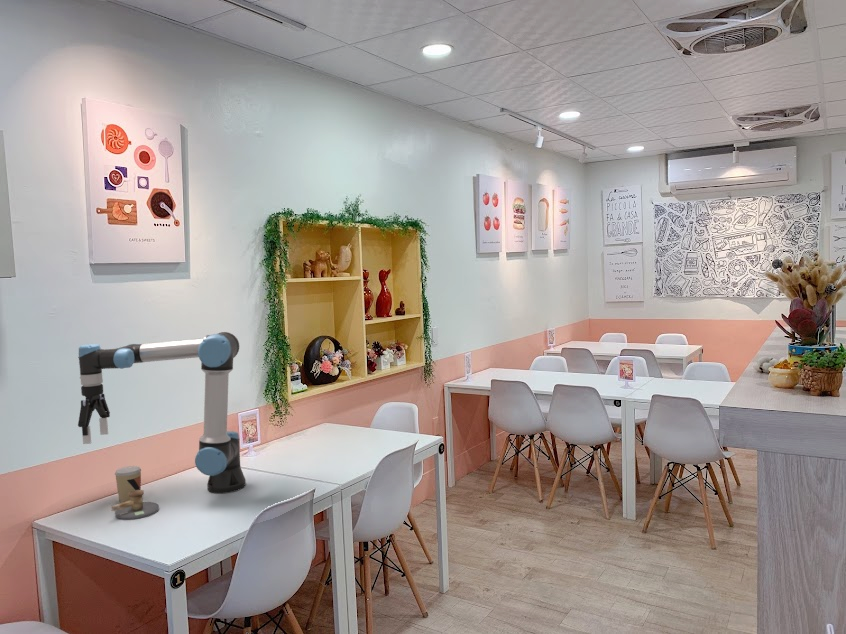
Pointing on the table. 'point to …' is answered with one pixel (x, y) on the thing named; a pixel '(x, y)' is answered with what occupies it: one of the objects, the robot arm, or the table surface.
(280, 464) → the table surface
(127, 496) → the coffee cup
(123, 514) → the plate
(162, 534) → the table surface
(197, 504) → the table surface
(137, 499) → the peg dial
